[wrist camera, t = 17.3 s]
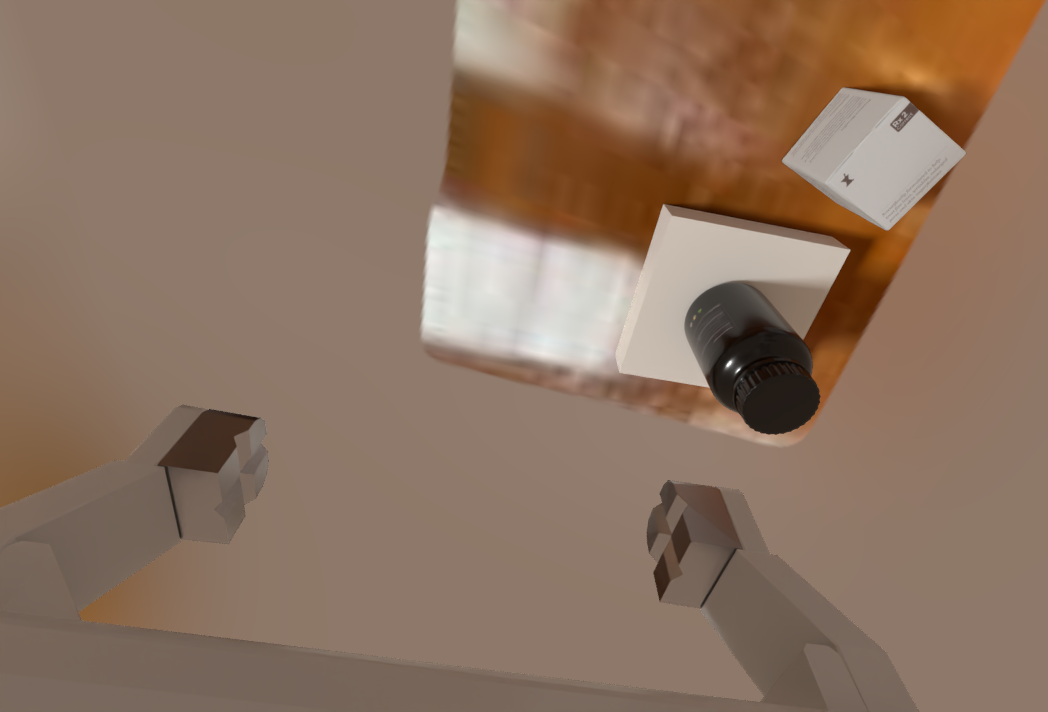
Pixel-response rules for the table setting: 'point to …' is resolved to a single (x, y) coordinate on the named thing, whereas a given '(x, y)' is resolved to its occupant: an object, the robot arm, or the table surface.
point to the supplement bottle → (752, 358)
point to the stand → (712, 259)
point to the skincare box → (873, 154)
